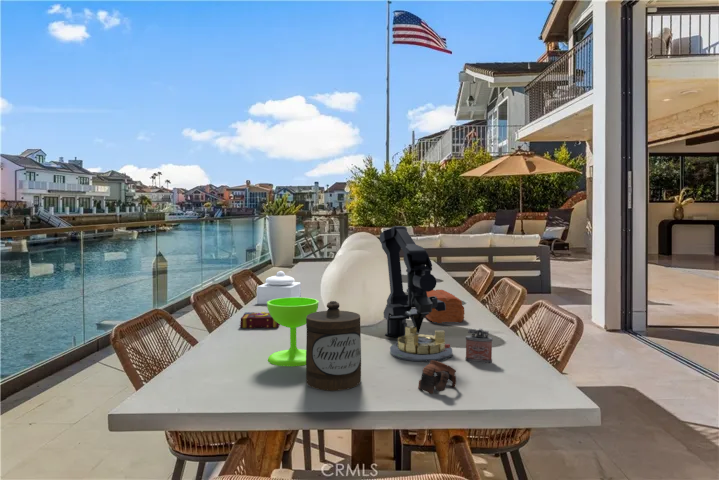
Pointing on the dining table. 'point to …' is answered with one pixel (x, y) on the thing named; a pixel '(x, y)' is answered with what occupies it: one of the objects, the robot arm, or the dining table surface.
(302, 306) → the wineglass
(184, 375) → the dining table surface
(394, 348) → the grey round tray
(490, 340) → the lighter
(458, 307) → the bread
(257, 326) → the decorative book
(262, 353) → the dining table surface
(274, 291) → the white lidded box
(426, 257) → the robot arm
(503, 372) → the dining table surface
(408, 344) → the tan segmented ring
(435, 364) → the brown leather rounded piece
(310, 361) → the wooden container
